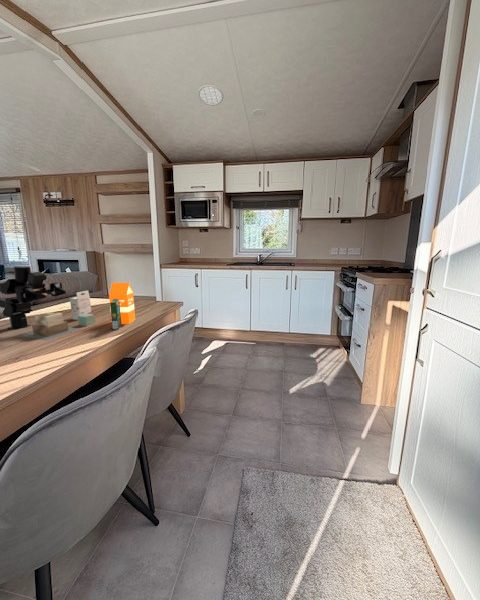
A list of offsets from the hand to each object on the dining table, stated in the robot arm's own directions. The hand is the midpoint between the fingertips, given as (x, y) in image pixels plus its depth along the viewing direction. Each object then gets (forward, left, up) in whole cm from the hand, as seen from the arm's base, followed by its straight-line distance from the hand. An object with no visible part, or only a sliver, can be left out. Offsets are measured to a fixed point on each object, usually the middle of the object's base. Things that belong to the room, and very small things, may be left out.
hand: (56, 294), depth 116 cm
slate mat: (-2, -3, -17) cm, 17 cm away
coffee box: (+19, +13, -17) cm, 29 cm away
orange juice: (+15, +22, -17) cm, 32 cm away
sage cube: (+2, +12, -17) cm, 21 cm away
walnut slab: (-2, -3, -17) cm, 17 cm away
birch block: (-2, -3, -13) cm, 13 cm away
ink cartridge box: (-11, +21, -17) cm, 30 cm away
